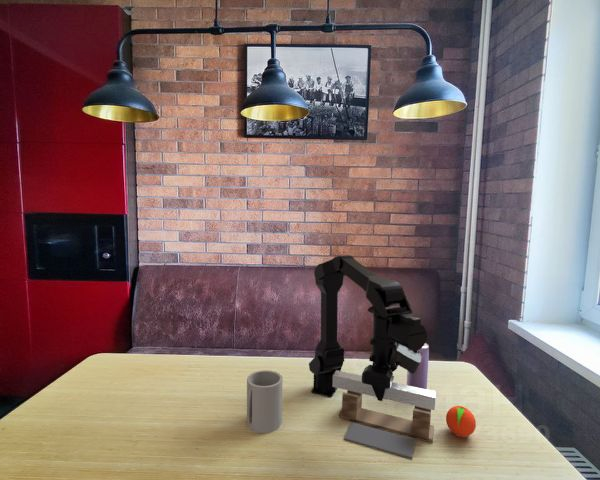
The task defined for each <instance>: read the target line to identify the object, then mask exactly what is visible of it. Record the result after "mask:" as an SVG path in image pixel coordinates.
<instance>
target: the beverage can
mask: <svg viewBox="0 0 600 480" xmlns="http://www.w3.org/2000/svg"><path fill="white" fill-rule="evenodd" d="M429 347H430V346H429V344H428V343H426V342H425V344H424V346H423V347H422V348H421V349H419V350H418V354H419V353H420V354H421V356H422V359H421V363H420V365H419V367H418V369H417V371H416V373H415V374H412V373H410V372H409V371H408V370H406V371H407V372H406V385H408V386H413V387H417V388H422V389H427V388H428V371H429V357H430V355H429V353H430V348H429ZM427 390H428V389H427Z"/></svg>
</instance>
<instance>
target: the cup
mask: <svg viewBox="0 0 600 480" xmlns="http://www.w3.org/2000/svg"><path fill="white" fill-rule="evenodd" d="M283 381H284V379H283V375H282V374H281V373H279V372H277V371H276V370H275V371H273V370H270V369H269V370H267V369H266V370H265V369H264V370H258V371H254V372H252V373H249V375H248V376H247V378H246V426H247V428H248V429H249V430H250V431H251V432H253V433H257V434H269V433H273V432H276V431H277V430H278V429H280V428H281V426H282V424H283Z"/></svg>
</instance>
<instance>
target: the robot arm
mask: <svg viewBox="0 0 600 480" xmlns="http://www.w3.org/2000/svg"><path fill="white" fill-rule="evenodd" d="M313 274H314V278H315V279H314V280H315V285H316V287H317V288H318V290H319V291H320V341H319V342H318V344H317V345H316V347H315V351H314V357H313V359H311V361H309V363H308V367H309V372H311V373H312V374H313V387H312V388H311V393H312V394H317V395H320V396H321V395H322V396H326V397H329V398H332V397H333V396H334V394H335V393H336V391H337V390H338V388H336V387H332V385H333V374H334V373H335V372H336V370H338V371H342V367H343V364H344V362H345V350H344V347H342V346H341V345H340V343H339V341H338V301H339V300H338V296H339V295H338V293H339V292H340V289H341V288H342V286H343V284H344V277H345V276H346V277H347V278H348V279H349V280H350V281H352V282H354V283H355V284H356V285H357V286H358V287H360V288H361V289H362V290H363V291H364V293H365V298H366V300H368V301H369V303H370V304H371V305H372V306H370V307H368V308H367V312H368V313H371V314H372V334H371V335H372V336H371V339H370V340H369V345H371V351H370V352H371V353H370V356H369V362H371V364H368V365H366V367H365V368H364V369H363V371H362V373H361V376H362V382H363V383H364V384H368V385H372V388H373V390H374V392H375V395H376V397H375V398H376V399H377V401H379V402H383V400H384V399H383V397H384V393H385V389H388V388H390V387H391V384H392V382H393V381H394V379H395V376H394V372H395V371H396V370H397V369H398V367H401V368H402V369H405V370H406V371H407V370H408V371H409V372H410V373H412V374H415V373H416V371H417V369H418V367H419V365H420V363H421V359H422V356H421V354H420V353H419V354H418V350H419V349H421V348H422V347H423V346H424V344H425V343H426V341H427V339H428V333H427V329H426V327H425V326H424V325H422V323H421V322H422V319H421V318H419V317H417V316H412V315H413V310H412V308H411V304H410V302H409V301H408V299H407V296H406V293H405V290H404V287H403V286H402V284H401V283H399V282H398V281H397V280H393V279H391V278H386V277H382V276H379V275H377V274H375V273H374V272H373V271H372V270H370V269H368V268H367V267H366V266H365V265H363V264H361V263H360V262H359V261H358V260H356V259H355V258H354V256H352V255H350V254H346V255H336V256H335V257H333V258H332V259H330V260H327V261H325V262H322V263H318V265H316V267H315V269H314V273H313Z"/></svg>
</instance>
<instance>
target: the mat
mask: <svg viewBox="0 0 600 480" xmlns="http://www.w3.org/2000/svg"><path fill="white" fill-rule="evenodd" d="M343 441H348V442H351V443H355V444H358V445H362V446H365V447H368V448H371V449H372V448H373V449H376V450H380V451H382V452H386V453H390V454H393V455H398V456H401V457H404V458H408V459H411V460H413V457H414V450H415V445H416V438H413V437H409V436H405V435H402V434H398V433H394V432H390V431H386V430H383V429H379V428H375V427H371V426H367V425H363V424H360V423H356V422H352V421H350V425H349V427H348V429H347V431H346V433H345V436H344V438H343Z"/></svg>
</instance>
